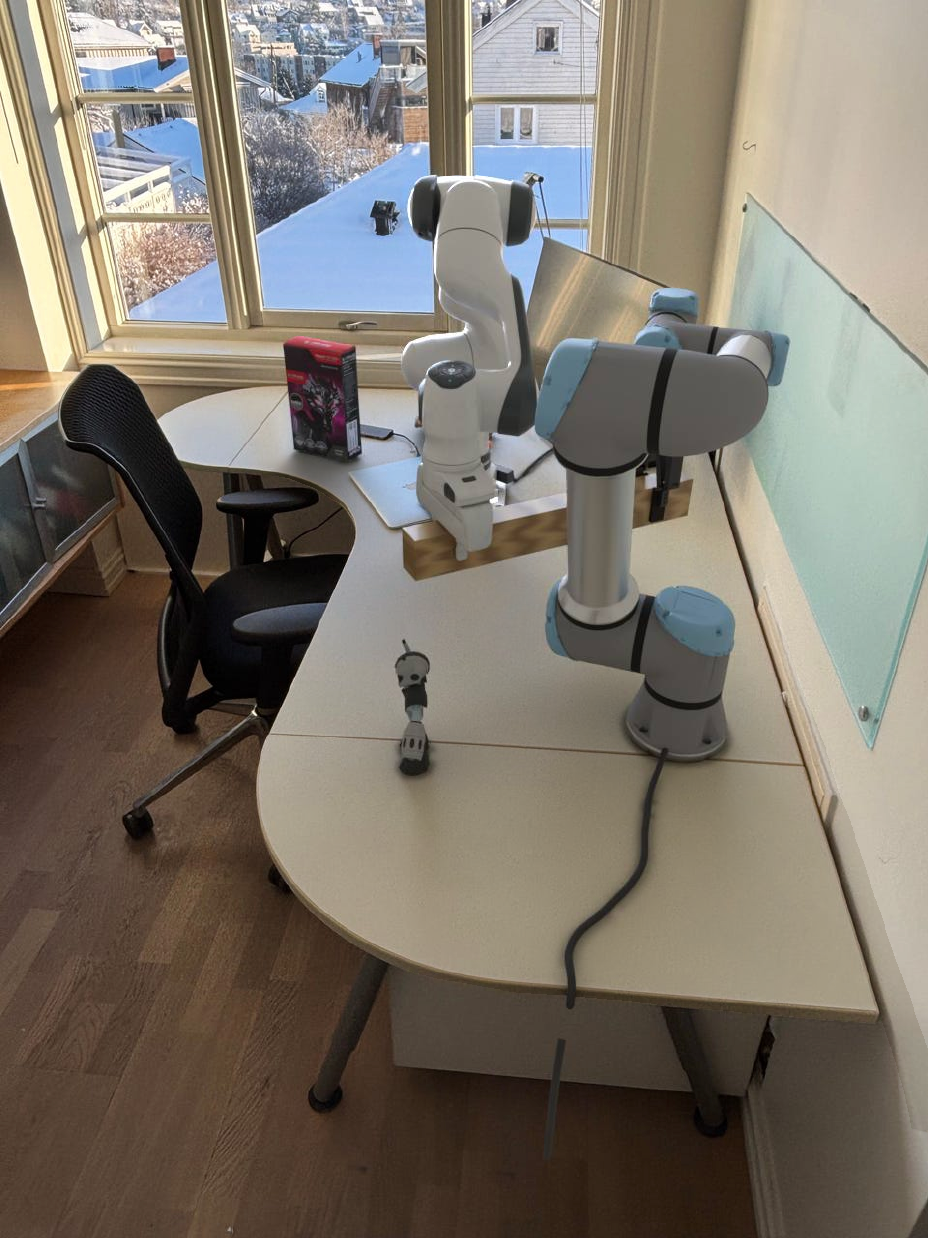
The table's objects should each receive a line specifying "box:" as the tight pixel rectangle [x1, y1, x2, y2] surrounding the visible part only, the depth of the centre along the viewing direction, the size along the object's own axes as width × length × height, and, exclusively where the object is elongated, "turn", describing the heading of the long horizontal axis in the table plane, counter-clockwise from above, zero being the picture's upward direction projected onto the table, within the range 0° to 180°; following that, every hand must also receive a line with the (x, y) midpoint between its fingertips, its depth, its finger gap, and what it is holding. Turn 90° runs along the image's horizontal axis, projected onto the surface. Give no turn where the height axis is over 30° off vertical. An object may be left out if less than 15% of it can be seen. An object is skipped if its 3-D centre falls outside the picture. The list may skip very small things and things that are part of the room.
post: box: [401, 471, 694, 582], centre depth 156 cm, size 54×5×7 cm, turn 116°
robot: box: [394, 638, 431, 776], centre depth 132 cm, size 20×5×20 cm, turn 3°
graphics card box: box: [282, 335, 363, 463], centre depth 222 cm, size 17×7×27 cm, turn 62°
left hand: (451, 549), depth 149 cm, fingers closed on post, 5 cm apart
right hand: (646, 513), depth 165 cm, fingers closed on post, 5 cm apart
